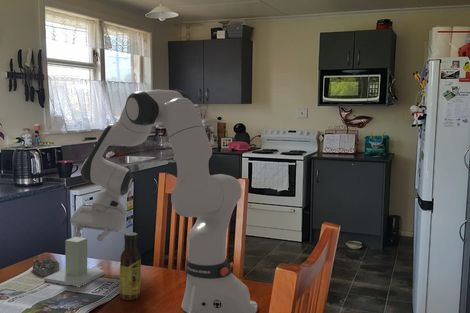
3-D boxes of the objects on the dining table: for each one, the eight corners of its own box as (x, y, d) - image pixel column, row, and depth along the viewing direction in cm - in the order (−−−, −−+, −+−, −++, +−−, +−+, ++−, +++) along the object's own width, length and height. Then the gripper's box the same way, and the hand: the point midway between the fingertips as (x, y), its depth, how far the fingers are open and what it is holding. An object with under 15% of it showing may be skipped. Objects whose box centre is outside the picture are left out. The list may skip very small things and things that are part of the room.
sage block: (87, 272, 159) (87, 238, 158) (77, 277, 155) (77, 242, 153) (75, 270, 161) (75, 236, 160) (65, 274, 156) (65, 240, 155)
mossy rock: (31, 268, 166) (31, 257, 165) (52, 265, 170) (52, 254, 170) (39, 277, 157) (38, 265, 157) (61, 273, 162) (61, 262, 161)
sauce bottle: (135, 302, 138) (135, 237, 137) (115, 300, 140) (116, 236, 138) (143, 294, 145) (144, 232, 143) (125, 292, 146) (125, 230, 144)
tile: (105, 273, 162) (105, 270, 162) (79, 287, 148) (79, 284, 148) (72, 268, 166) (72, 265, 166) (44, 281, 153) (44, 277, 153)
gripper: (77, 199, 172) (59, 230, 164) (124, 204, 166) (108, 237, 157) (85, 208, 177) (68, 239, 169) (131, 213, 170) (116, 246, 162)
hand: (88, 238), depth 163 cm, fingers open, 8 cm apart
